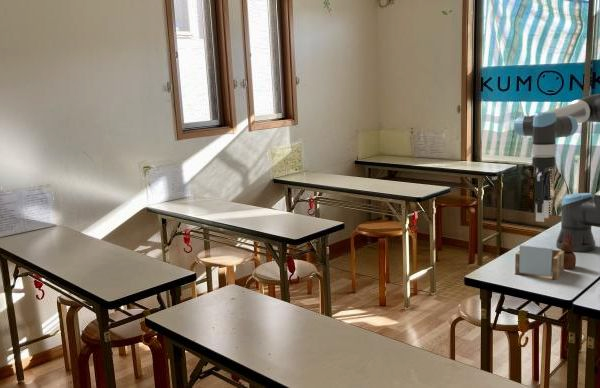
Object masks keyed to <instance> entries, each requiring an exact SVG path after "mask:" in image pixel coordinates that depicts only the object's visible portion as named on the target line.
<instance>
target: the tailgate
mask: <svg viewBox="0 0 600 388" xmlns="http://www.w3.org/2000/svg"><path fill="white" fill-rule="evenodd" d="M552 249H553V248H552V247H543V246H535V245H525V244H520V245H519V251H520V258H519V272H520V273H527V274H535V275H542V276H550V277H551V276H552Z"/></svg>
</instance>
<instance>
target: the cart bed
mask: <svg viewBox="0 0 600 388" xmlns="http://www.w3.org/2000/svg"><path fill="white" fill-rule="evenodd" d="M519 258H520V250H518V252H516V253H515V258H514V260H515V261H514V262H515V263H514V267H515V269H514V270H515V271H514V275H515V276H516V275H517V276H518V275H519V276H527V277H535V278H539V279H540V278H541V279H548V280H552V281H557V279H558V278H559V277H560V275H562V273H564V271H565V269H564V251H562V250H561V249H553V248H552V276H551V277H550V276H542V275H535V274H527V273H520V272H519Z"/></svg>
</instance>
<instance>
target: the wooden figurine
mask: <svg viewBox="0 0 600 388" xmlns="http://www.w3.org/2000/svg"><path fill="white" fill-rule="evenodd" d="M560 250H562V251H564V270H574V269H575V268H576V264H577V257H576V254H575V251H574V244H573V242H572V233H570V237H569V233H568V236H567V235H566V237H565V238H564V242H562V243H561V249H560Z"/></svg>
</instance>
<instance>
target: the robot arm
mask: <svg viewBox="0 0 600 388" xmlns="http://www.w3.org/2000/svg"><path fill="white" fill-rule="evenodd" d="M583 123H600V93H596V94H595V93H594V94H591V95H587V96H585V97H581V98H578V99H575V100H572V101H571V102H570V103H569V104H567V105H563V106H560V107H557V108H553V109H551V110H547V111H546V110H545V111H543V112H535V113H534V114H532V115H522V116H518V117H517V118H516V119H515V120H514V124H513V130H514V132H515V134H516V135H517V136H523V137H532V146H531V147H530V149H531V150H532V155H533V156H532V158H531V160H532V161H531V162H532V163H531V166H532V167H533V168H537V171H536V175H535V174H534V201H533V204H535V222H540V223H541V222H542V223H545V219H549V215H550V214H549V212H550V201H552V199H553V198H552V197H551V195H552V193H551V192H552V191H551V190H552V189H551V188H552V184H551V181H552V171H551V170H550V169H551V168H554V167H555V166H556V157H555V155H556V145H557V144H556V140H557V139H558V138H568V137H571V136H574V135H575V134H576V132H577V131H578V129H579V125H578V124H583ZM560 205H561V216H560V217H561V221H560V223H561V224H560V226H561V227H560V231H559V234H558V236H557V238H556V241H555V246H556V247H557V248H558V249H559V250H561V243H562V242H564V238H565V237H566V235H567V236H568V233H569V237H570V233H572V242H573V244H574V251H573V252H578V253H579V252H591V251H595V250H596V241H595V238H594V235H593V231H592V227H595V228H600V189H599V190H598V191H597V192H596V193H594V195H593V193H591V192H580V193H577V192H576V193H570V194H565V195H564V196H563V197H562V198H561V204H560Z"/></svg>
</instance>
